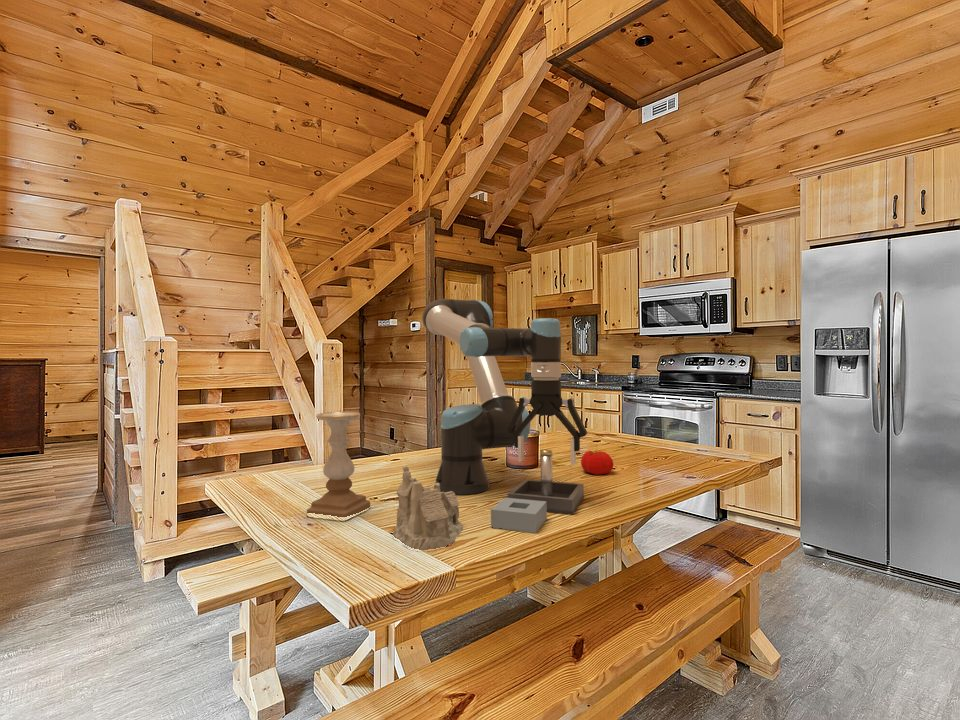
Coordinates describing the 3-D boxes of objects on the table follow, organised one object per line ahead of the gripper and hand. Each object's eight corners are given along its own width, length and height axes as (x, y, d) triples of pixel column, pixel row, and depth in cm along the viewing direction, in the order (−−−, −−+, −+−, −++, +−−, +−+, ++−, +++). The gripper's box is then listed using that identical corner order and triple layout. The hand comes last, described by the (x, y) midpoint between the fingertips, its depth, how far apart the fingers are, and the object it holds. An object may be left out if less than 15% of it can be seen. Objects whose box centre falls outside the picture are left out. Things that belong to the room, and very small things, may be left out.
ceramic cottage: (409, 554, 95) (412, 474, 96) (384, 531, 110) (387, 462, 111) (482, 545, 102) (485, 470, 103) (450, 525, 117) (452, 459, 118)
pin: (539, 500, 128) (539, 450, 129) (542, 497, 131) (541, 449, 131) (551, 501, 127) (550, 451, 127) (553, 498, 130) (553, 449, 130)
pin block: (490, 527, 110) (490, 509, 110) (505, 514, 120) (505, 497, 120) (535, 533, 107) (535, 514, 107) (546, 518, 116) (546, 501, 116)
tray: (507, 508, 125) (507, 493, 125) (525, 491, 140) (525, 479, 140) (572, 514, 119) (572, 499, 119) (583, 497, 134) (583, 483, 134)
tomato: (606, 468, 169) (606, 449, 169) (616, 476, 158) (616, 455, 158) (577, 469, 168) (577, 449, 168) (585, 477, 157) (585, 455, 157)
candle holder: (371, 508, 125) (370, 412, 125) (345, 522, 115) (344, 417, 115) (333, 504, 129) (332, 410, 129) (305, 517, 119) (304, 415, 118)
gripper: (495, 379, 130) (495, 461, 130) (593, 380, 121) (594, 468, 121) (504, 378, 137) (504, 456, 137) (597, 378, 128) (598, 462, 128)
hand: (546, 462), depth 129 cm, fingers open, 13 cm apart
